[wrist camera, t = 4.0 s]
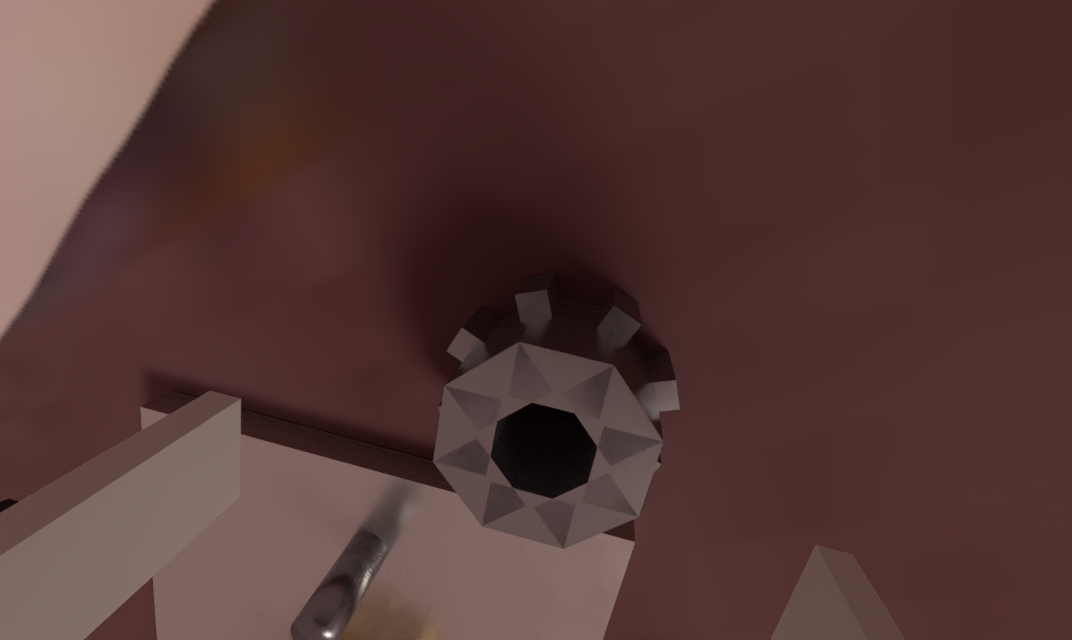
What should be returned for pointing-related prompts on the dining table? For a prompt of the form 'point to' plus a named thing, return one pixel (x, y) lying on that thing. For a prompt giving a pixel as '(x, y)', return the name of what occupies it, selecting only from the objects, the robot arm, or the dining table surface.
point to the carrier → (370, 553)
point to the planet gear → (554, 415)
